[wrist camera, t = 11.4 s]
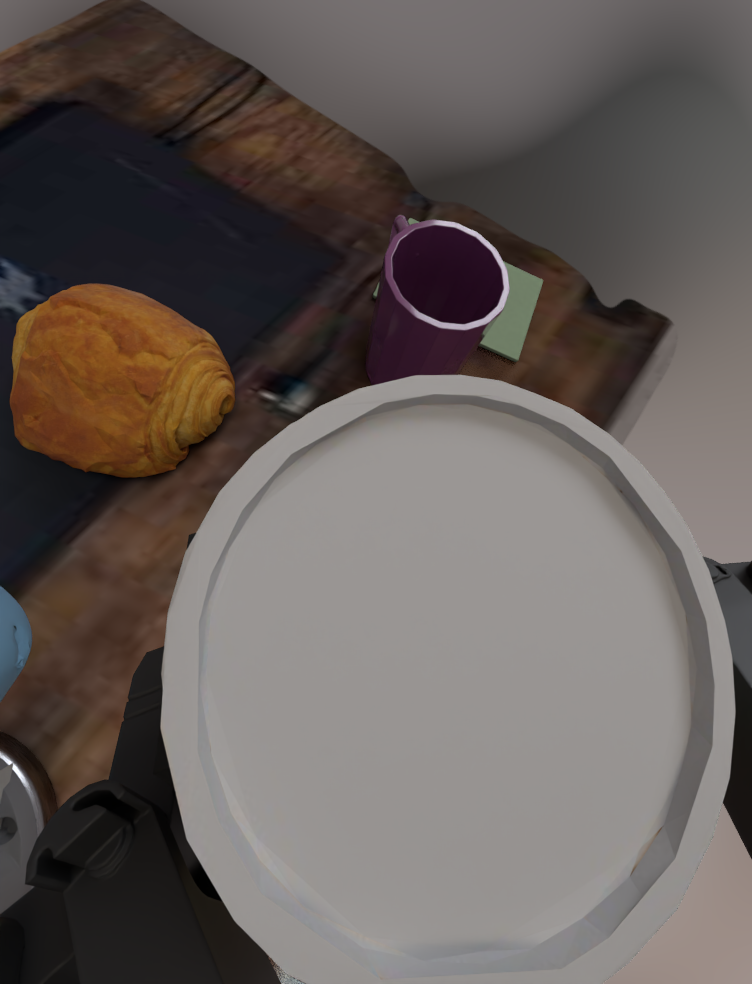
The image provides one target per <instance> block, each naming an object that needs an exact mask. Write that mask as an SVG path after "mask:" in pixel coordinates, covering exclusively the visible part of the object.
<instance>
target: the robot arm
mask: <svg viewBox="0 0 752 984" xmlns="http://www.w3.org/2000/svg"><path fill="white" fill-rule="evenodd" d="M195 535H196V533H194V534H191V535H189V538H188V545H187V549H188V547H189V545H190V543H191V542H192V540H193V538H194V536H195ZM702 557H703V556H702ZM703 559H704V561H705V563H706V565H707V567H708V569H709V572H710V575H711V578H712V581H713V585H714V588H715V591H716V594H717V597H718V600H719V604H720V607H721V610H722V613H723V616H724V619H725V623H726V628H727V634H728V639H729V644H730V649H731V654H732V661H733V677H734V694H735V711H736V712H735V724H734V735H733V747H732V758H731V770H730V779H729V782H728V786H727V789H726V793H725V796H724V800H723V804H724V806H725V808H726V809H727V811H728V813H729V815H730V817H731V819H732V821H733V823H734V825H735V827H736V829H737V831H738V833H739V835H740V837H741V839H742V841H743V843H744V845H745V847H746V849H747V851H748V853H749V855H750V857H751V859H752V561H751V562H741V563H729V564H720V563H718V562H716V561H714V560H712V559H709V558H706V557H703ZM31 645H32V631H31V627H30V623H29V621H28V618H27V616H26V614H25V612H24V610H23V609H22V607H21V606H20V605H19V604H18V602H17V601H16V600H15V599H14V598H13V597H12V596H11V595H10V594H9V593H8V592H7V591H6V590H5V589H3V588H2V587H1V586H0V702H1V701H2V699H3V698H4V696H5V695H6V693H7V692H8V690H9V689H10V687H11V686H12V684H13V683H14V681H15V680H16V678H17V677H18V675H19V674H20V673H21V671H22V669H23V668H24V666H25V664H26V661H27V659H28V656H29V653H30V650H31ZM163 653H164V647H161V648H158V649H155V650H153V651H150V652H147V653H146V655H145V656H144V658H143V660H142V661H141V663H140V665H139V666H138V668H137V670H136V671H135V673H134V675H133V678H132V683H131V687H130V691H129V695H128V699H129V701H128V702H127V704H126V708H125V712H124V721H123V722H122V725H121V729H120V733H119V738H118V742H117V746H116V750H115V755H114V759H113V763H112V767H111V771H110V776H109V780H102V781H99V782H96V783H93V784H90V785H88V786H86V787H85V788H83V789H82V790H80V791H79V792H77V793H76V794H74V795H73V796H72V797H70V798H69V799H68V800H67V801H66V802H65V803H64V804H63V805H62V806H61V807H60V808H59V809H58V811H57V803H56V798H55V794H54V791H53V788H52V784H51V782H50V780H49V777H48V775H47V773H46V771H45V770H44V768H43V766H42V765H41V763H40V762H39V760H38V759H37V758H36V757H35V755H34V754H33V753H32V752H31V751H30V750H29V749H28V748H27V747H26V746H25V745H23V744H22V743H21V742H19V741H18V740H17V739H15V738H13V737H11V736H10V735H8V734H6V733H4V732H1V731H0V984H281V983H280V980H279V978H278V976H277V974H276V972H275V970H274V968H273V966H272V964H271V962H270V960H269V958H268V956H267V954H266V952H265V951H264V950H263V949H262V948H261V947H260V946H259V945H258V944H257V943H256V942H255V941H254V940H253V939H252V938H251V937H250V936H249V935H248V934H247V933H246V932H245V931H244V930H243V929H242V928H241V927H240V926H239V925H238V924H237V923H236V922H235V921H234V919H233V918H232V916H231V914H230V913H229V911H228V909H227V907H226V906H225V904H224V902H223V901H222V899H221V897H220V896H219V894H218V892H217V890H216V889H215V887H214V885H213V884H212V882H211V880H210V878H209V877H208V875H207V873H206V872H205V870H204V868H203V867H202V865H201V863H200V861H199V860H198V858H197V856H196V855H195V853H194V851H193V850H192V848H191V846H190V844H189V843H188V841H187V839H186V835H185V830H184V826H183V822H182V818H181V813H180V809H179V805H178V801H177V796H176V792H175V788H174V784H173V779H172V775H171V771H170V767H169V762H168V758H167V754H166V750H165V745H164V741H163V737H162V733H161V728H160V726H161V711H162V696H163V685H162V677H161V672H162V663H163Z"/></svg>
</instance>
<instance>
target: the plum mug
mask: <svg viewBox="0 0 752 984" xmlns="http://www.w3.org/2000/svg"><path fill="white" fill-rule="evenodd" d="M509 292H510V287H509V279H508V271H507V268H506V266H505V264H504V262H503V261H502V259H501V257H500V255H499V253H498V252H497V250H496V249H495V248H494V247H493V246H492V245H491V244H490V243H489V242H488V241H487V240H486V239H484V238H483V237H482V236H481V235H480V234H479V233H477V232H475V231H473V230H471V229H469V228H467V227H465V226H462V225H460V224H458V223H456V222H448V221H441V220H428V221H423V222H419V223H414V224H411V225H410V224H409V222H408V221H407V219H406V217H405V216H403V215H398V216H397V217H396V218H395V219H394V222H393V227H392V231H391V236H390V241H389V246H388V250H387V252H386V254H385V257H384V262H383V267H382V272H381V277H380V282H379V287H378V292H377V297H376V302H375V307H374V312H373V317H372V322H371V327H370V332H369V337H368V342H367V348H366V357H365V368H366V373H367V376H368V378H369V380H370V382H371V384H372V385H377V384H381V383H385V382H389V381H394V380H398V379H402V378H406V377H410V376H415V375H458V374H459V373H460V371H461V370H462V368H463V367H464V365H465V364H466V363H467V361H468V360H469V358H470V357H471V355H472V354H473V353H474V351H475V350H476V348H477V347H478V345H479V344H480V342H481V341H482V340H483V338H484V337H485V335H486V334H487V332H488V331H489V330H490V328H491V327H492V325H493V324H494V322H495V321H496V319H497V318H498V317H499V315H500V314H501V312H502V311H503V309H504V306H505V303H506V301H507V298H508V295H509Z"/></svg>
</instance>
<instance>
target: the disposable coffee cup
mask: <svg viewBox="0 0 752 984" xmlns="http://www.w3.org/2000/svg"><path fill="white" fill-rule="evenodd" d="M161 677H162V685H163V696H162V711H161V726H160V728H161V733H162V737H163V741H164V745H165V750H166V754H167V758H168V762H169V767H170V771H171V775H172V779H173V784H174V788H175V792H176V796H177V801H178V805H179V809H180V813H181V818H182V822H183V826H184V830H185V835H186V839H187V841H188V843H189V844H190V846H191V848H192V850H193V851H194V853H195V855H196V856H197V858H198V860H199V861H200V863H201V865H202V867H203V868H204V870H205V872H206V873H207V875H208V877H209V878H210V880H211V882H212V884H213V885H214V887H215V889H216V890H217V892H218V894H219V896H220V897H221V899H222V901H223V902H224V904H225V906H226V907H227V909H228V911H229V913H230V914H231V916H232V918H233V919H234V921H235V922H236V923H237V924H238V925H239V926H240V927H241V928H242V929H243V930H244V931H245V932H246V933H247V934H248V935H249V936H250V937H251V938H252V939H253V940H254V941H255V942H256V943H257V944H258V945H259V946H260V947H261V948H262V949H263V950H264V951H265V952H266V953H267V954H268V955H269V956H270V957H271V958H272V959H273V960H274V961H275V962H276V963H277V964H278V965H279V967H280V968H281V969H282V970H283V971H284V972H285V973H286V974H287V975H289V976H291V977H293V978H295V979H297V980H299V981H301V982H303V983H305V984H603V983H604V982H605V981H606V980H608V979H609V978H610V977H612V976H613V975H614V974H615V973H617V972H618V971H619V970H621V969H622V968H623V967H624V966H626V965H627V964H628V963H629V962H630V961H631V960H632V959H633V958H634V957H635V956H636V954H637V953H638V952H639V951H640V950H641V949H642V948H643V947H644V946H645V944H646V943H647V942H648V941H649V940H650V939H651V938H652V937H653V936H654V934H655V933H656V932H657V931H658V930H659V929H660V928H661V927H662V926H663V924H664V923H665V922H666V921H667V920H668V919H669V918H670V917H671V916H672V915H673V914H674V912H675V911H676V910H677V909H678V906H679V905H680V903H681V900H682V899H683V896H684V895H685V893H686V891H687V889H688V887H689V884H690V883H691V880H692V879H693V877H694V875H695V873H696V870H697V869H698V866H699V864H700V862H701V860H702V858H703V856H704V854H705V852H706V850H707V848H708V846H709V844H710V842H711V840H712V838H713V834H714V831H715V828H716V824H717V820H718V817H719V813H720V810H721V806H722V803H723V800H724V796H725V793H726V789H727V786H728V782H729V779H730V770H731V758H732V747H733V735H734V724H735V712H736V711H735V694H734V677H733V661H732V654H731V649H730V644H729V639H728V634H727V628H726V623H725V619H724V616H723V613H722V610H721V607H720V604H719V600H718V597H717V594H716V591H715V588H714V585H713V581H712V578H711V575H710V572H709V569H708V567H707V565H706V563H705V561H704V559H703V557H702V555H701V553H700V551H699V549H698V547H697V545H696V542H695V541H694V539H693V537H692V534H691V532H690V530H689V528H688V526H687V524H686V523H685V521H684V520H683V518H682V517H681V515H680V514H679V512H678V511H677V509H676V508H675V506H674V505H673V503H672V502H671V500H670V499H669V497H668V496H667V494H666V493H665V492H664V491H663V489H662V488H661V487H660V486H659V485H658V483H657V482H656V481H655V480H654V479H653V477H652V476H651V475H650V474H649V473H648V472H647V470H646V469H645V468H644V467H643V466H642V464H641V463H640V462H639V461H638V460H637V459H636V458H635V457H634V456H633V455H632V454H630V453H629V452H628V451H627V450H626V449H625V448H624V447H623V446H622V445H621V444H619V443H618V442H617V441H616V440H615V439H614V438H613V437H612V436H611V435H610V434H608V433H607V432H605V431H604V430H602V429H601V428H599V427H598V426H596V425H595V424H593V423H592V422H590V421H589V420H587V419H586V418H584V417H583V416H581V415H580V414H578V413H577V412H576V411H574V410H573V409H571V408H569V407H566V406H564V405H562V404H559V403H557V402H554V401H552V400H549V399H547V398H545V397H542V396H540V395H537V394H535V393H532V392H529V391H527V390H524V389H521V388H519V387H516V386H513V385H510V384H508V383H505V382H502V381H498V380H491V379H484V378H478V377H471V376H464V375H415V376H410V377H406V378H402V379H398V380H394V381H389V382H385V383H381V384H377V385H373V386H368V387H364V388H360V389H357V390H355V391H353V392H350V393H348V394H346V395H344V396H342V397H339V398H337V399H335V400H333V401H331V402H328V403H326V404H324V405H322V406H320V407H318V408H316V409H315V410H313V411H312V412H310V413H309V414H307V415H306V416H304V417H303V418H301V419H300V420H298V421H296V422H294V423H292V424H290V425H289V426H288V427H286V428H285V429H284V430H283V431H281V432H280V433H279V434H278V435H276V436H275V437H274V438H273V439H271V440H270V441H269V442H267V443H266V444H265V445H264V446H262V447H261V448H260V449H259V450H257V451H256V452H255V453H254V454H253V455H252V456H251V457H250V458H249V459H248V461H247V462H246V463H245V464H244V465H243V466H242V467H241V468H240V470H239V471H238V472H237V473H236V474H235V475H234V476H233V477H232V478H231V480H230V481H229V482H228V483H227V484H226V485H225V486H224V487H223V489H222V490H221V491H220V492H219V494H218V496H217V497H216V499H215V501H214V503H213V504H212V506H211V508H210V510H209V512H208V513H207V515H206V517H205V519H204V520H203V522H202V524H201V526H200V528H199V529H198V531H197V533H196V535H195V536H194V538H193V540H192V542H191V543H190V545H189V547H188V549H187V551H186V552H185V556H184V559H183V562H182V566H181V569H180V573H179V576H178V579H177V583H176V586H175V590H174V593H173V596H172V600H171V603H170V607H169V610H168V616H167V626H166V635H165V644H164V653H163V663H162V672H161Z"/></svg>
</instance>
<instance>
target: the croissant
mask: <svg viewBox="0 0 752 984" xmlns="http://www.w3.org/2000/svg"><path fill="white" fill-rule="evenodd" d="M12 362H13V369H14V374H13V387H12V392H11V395H10V407H11V410H12V413H13V419H14V430H15V436H16V438H17V439H18V440H19V442H20V443H21V445H22V446H24V447H26V448H27V449H30V450H34V451H37V452H41V453H43V454H45V455H48V456H49V457H50V458H51V459H52V460H60V461H63V462H64V463H66V464H68V465H70V466H72V467H73V468H78V469H82V470H84V471H85V472H88V471H93V472H98V473H104V474H109V475H115V476H118V477H146V476H150V475H155V474H158V473H164V472H166V471H169V470H174V469H176V465H177V464H178V463H179V461H182V460H184V459H185V458H186V457H187V454H188V452H189V446H188V445H190V444H194V443H199V442H200V441H202V440H204V438H205V437H206V436H207V437H208V435H209V434H211V433H212V432H214V431H216V428H217V426H218V425H220V424H221V423H222V420H223V417H224V414H226V413H228V412H230V411H231V410H232V409H233V407H234V403H235V393H234V390H235V382H234V379H233V375H232V374H231V371H230V367H229V365H228V363H227V361H226V360H225V358H224V356H223V354H222V352H221V350H220V348H219V346H218V345H217V343H216V342H215V340H214V339H213V337H212V336H211V335H210V334H209V333H207V332H206V331H205V330H203V329H201V328H199V327H197V326H195V325H194V324H192V323H191V322H189V321H188V320H186V319H185V318H183V317H182V316H181V315H179V314H178V313H177V312H175V311H173V310H172V309H170V308H168V307H166V306H164V305H162V304H161V303H159V302H157V301H155V300H153V299H151V298H149V297H147V296H145V295H143V294H140V293H137V292H134V291H130V290H127V289H123V288H119V287H116V286H112V285H106V284H85V285H78V286H74V287H71V288H69V289H68V290H63V291H61V292H60V293H57V294H55V295H53V296H51V297H50V298H49V300H48V301H46V302H44V303H43V304H40V305H37V307H36V308H35V309H34V310H32V311H29V312H27V313H26V314H25V315H23V316H22V317H21V318H20V319H19V321H18V323H17V327H16V335H15V337H14V342H13V354H12Z"/></svg>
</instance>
